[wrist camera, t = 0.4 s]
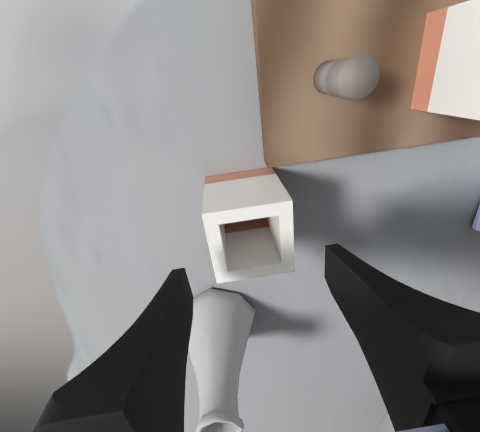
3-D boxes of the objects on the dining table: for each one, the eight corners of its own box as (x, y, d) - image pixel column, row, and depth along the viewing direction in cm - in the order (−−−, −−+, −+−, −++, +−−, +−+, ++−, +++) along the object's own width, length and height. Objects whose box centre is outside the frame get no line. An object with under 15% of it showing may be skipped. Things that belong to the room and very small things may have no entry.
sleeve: (271, 167, 20) (292, 200, 14) (275, 224, 22) (294, 271, 17) (205, 176, 20) (201, 214, 14) (216, 233, 22) (216, 283, 17)
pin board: (530, -53, 15) (683, -115, 10) (477, 129, 20) (563, 147, 15) (249, -13, 15) (267, -58, 10) (264, 161, 19) (280, 189, 15)
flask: (207, 276, 24) (202, 391, 15) (267, 306, 26) (294, 420, 18) (167, 323, 26) (143, 446, 18) (226, 346, 29) (231, 465, 20)
